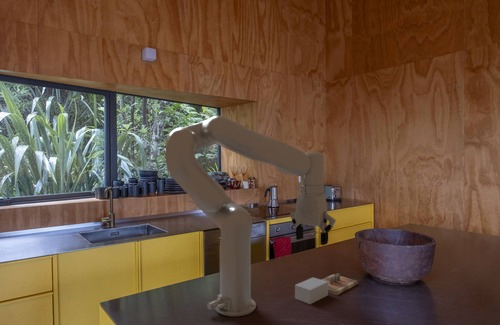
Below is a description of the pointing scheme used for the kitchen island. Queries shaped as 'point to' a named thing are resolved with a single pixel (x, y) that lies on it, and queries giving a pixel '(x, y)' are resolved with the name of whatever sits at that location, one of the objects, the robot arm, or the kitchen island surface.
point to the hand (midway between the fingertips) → (311, 241)
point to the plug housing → (311, 290)
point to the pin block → (339, 283)
